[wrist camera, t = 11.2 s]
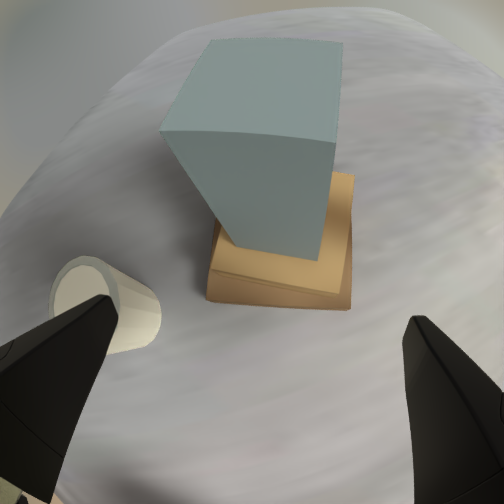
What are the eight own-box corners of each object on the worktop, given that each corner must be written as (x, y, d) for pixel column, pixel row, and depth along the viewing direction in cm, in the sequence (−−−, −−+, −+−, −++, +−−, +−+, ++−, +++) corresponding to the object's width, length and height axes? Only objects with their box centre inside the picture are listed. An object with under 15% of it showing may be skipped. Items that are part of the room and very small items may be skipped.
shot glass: (90, 316, 23) (36, 306, 17) (133, 259, 24) (82, 234, 17) (135, 372, 21) (81, 380, 15) (184, 313, 22) (139, 303, 15)
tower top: (334, 298, 19) (339, 293, 16) (220, 275, 21) (210, 268, 18) (349, 191, 21) (354, 175, 18) (246, 176, 22) (240, 158, 20)
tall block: (317, 261, 17) (336, 142, 7) (236, 246, 18) (158, 131, 8) (328, 188, 18) (342, 43, 8) (254, 177, 19) (211, 39, 9)
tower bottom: (344, 311, 21) (350, 308, 18) (215, 303, 23) (205, 299, 20) (345, 190, 23) (349, 175, 21) (229, 187, 25) (222, 173, 23)
